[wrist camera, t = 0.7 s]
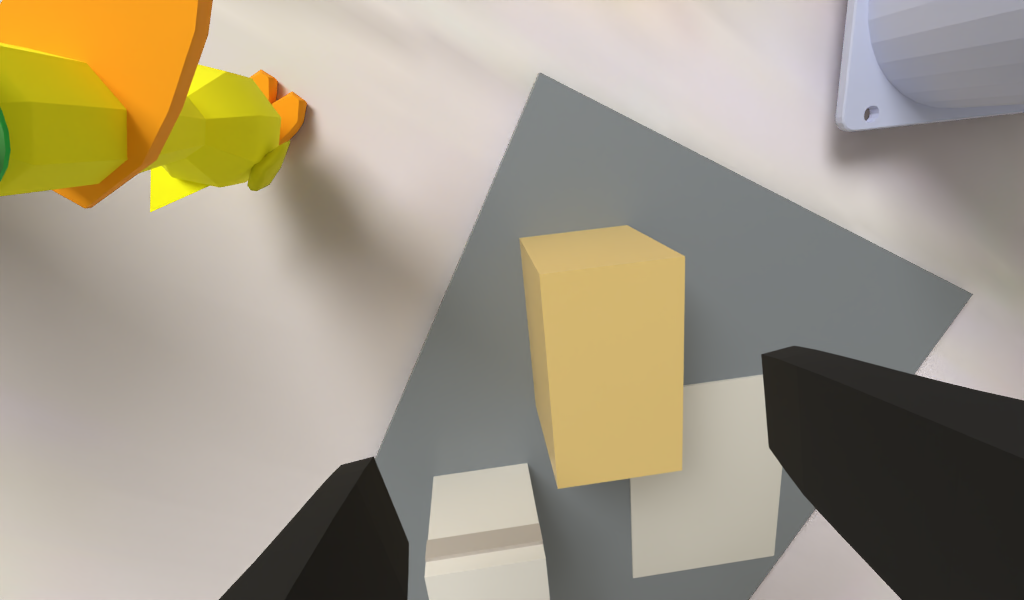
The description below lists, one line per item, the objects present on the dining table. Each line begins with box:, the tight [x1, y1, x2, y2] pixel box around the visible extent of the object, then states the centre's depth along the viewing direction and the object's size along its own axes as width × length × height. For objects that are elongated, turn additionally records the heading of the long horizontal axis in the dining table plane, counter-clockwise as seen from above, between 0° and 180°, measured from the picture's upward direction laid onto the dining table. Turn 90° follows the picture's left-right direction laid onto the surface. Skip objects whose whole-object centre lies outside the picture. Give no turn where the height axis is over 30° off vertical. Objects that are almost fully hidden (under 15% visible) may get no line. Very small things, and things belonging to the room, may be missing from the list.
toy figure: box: [0, 0, 307, 212], centre depth 10 cm, size 7×4×12 cm, turn 144°
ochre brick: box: [519, 225, 685, 489], centre depth 17 cm, size 4×7×5 cm, turn 6°
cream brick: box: [424, 463, 550, 600], centre depth 20 cm, size 4×7×5 cm, turn 6°
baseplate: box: [375, 73, 973, 600], centre depth 21 cm, size 24×20×1 cm
